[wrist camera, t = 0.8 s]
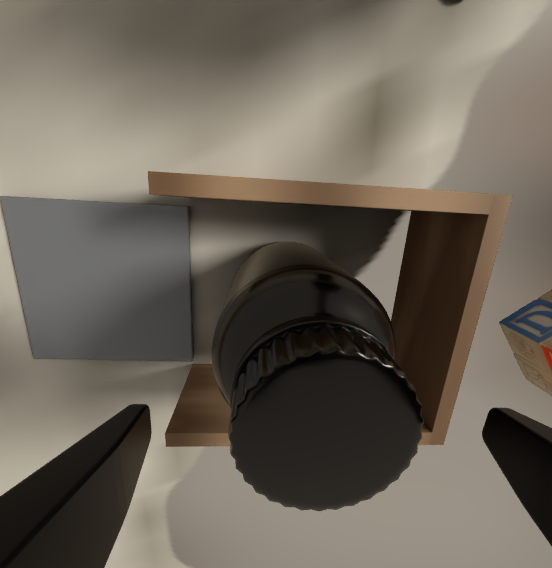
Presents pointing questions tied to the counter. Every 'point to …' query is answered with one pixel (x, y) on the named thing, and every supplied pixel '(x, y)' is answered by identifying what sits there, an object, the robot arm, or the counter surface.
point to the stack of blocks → (532, 340)
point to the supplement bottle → (312, 382)
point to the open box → (409, 297)
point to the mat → (103, 278)
